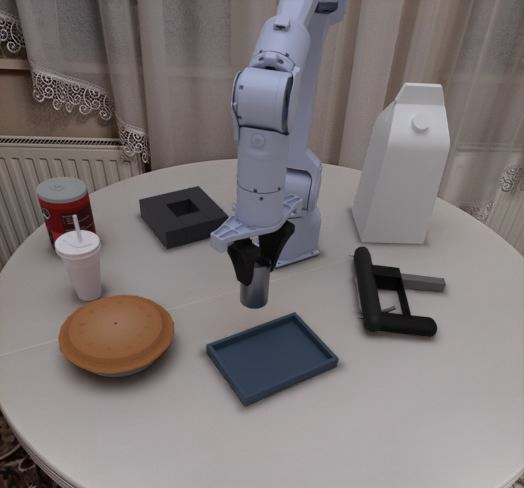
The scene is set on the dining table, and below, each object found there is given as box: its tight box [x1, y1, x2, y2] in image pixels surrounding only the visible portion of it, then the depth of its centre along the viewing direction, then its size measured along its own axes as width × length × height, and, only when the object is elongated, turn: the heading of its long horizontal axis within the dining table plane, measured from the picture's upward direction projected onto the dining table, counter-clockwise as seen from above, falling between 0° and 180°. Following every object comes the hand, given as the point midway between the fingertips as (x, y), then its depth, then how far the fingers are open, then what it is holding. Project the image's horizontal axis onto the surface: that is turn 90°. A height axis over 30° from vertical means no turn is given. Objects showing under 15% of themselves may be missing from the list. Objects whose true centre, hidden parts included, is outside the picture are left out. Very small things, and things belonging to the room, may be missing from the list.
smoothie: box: [54, 215, 103, 302], centre depth 76 cm, size 6×6×14 cm
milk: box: [351, 82, 451, 245], centre depth 91 cm, size 12×12×26 cm
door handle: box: [348, 245, 447, 338], centre depth 83 cm, size 3×20×16 cm
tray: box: [205, 311, 340, 407], centre depth 72 cm, size 15×11×2 cm
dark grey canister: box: [239, 251, 272, 310], centre depth 70 cm, size 4×5×7 cm
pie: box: [57, 294, 175, 378], centre depth 71 cm, size 16×16×5 cm
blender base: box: [138, 185, 230, 250], centre depth 95 cm, size 12×12×4 cm
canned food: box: [35, 176, 98, 252], centre depth 86 cm, size 8×8×11 cm
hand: (255, 275), depth 69 cm, fingers closed on dark grey canister, 4 cm apart
